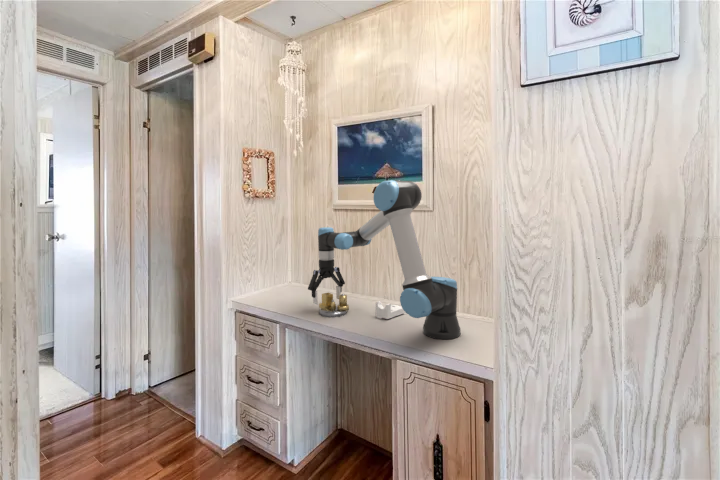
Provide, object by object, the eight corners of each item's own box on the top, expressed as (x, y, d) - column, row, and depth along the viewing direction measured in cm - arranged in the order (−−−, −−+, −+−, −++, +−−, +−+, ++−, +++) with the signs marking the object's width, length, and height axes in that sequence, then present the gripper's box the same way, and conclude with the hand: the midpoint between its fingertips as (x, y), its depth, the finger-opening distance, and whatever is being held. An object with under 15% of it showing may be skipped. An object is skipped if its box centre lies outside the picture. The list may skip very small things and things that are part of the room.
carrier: (352, 313, 180) (352, 294, 179) (329, 319, 171) (328, 299, 170) (337, 307, 190) (337, 289, 189) (314, 312, 182) (314, 294, 181)
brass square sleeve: (335, 307, 184) (335, 294, 183) (325, 310, 180) (325, 296, 179) (329, 305, 188) (329, 291, 188) (319, 307, 185) (318, 293, 184)
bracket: (387, 321, 169) (387, 305, 168) (375, 317, 174) (375, 301, 173) (405, 314, 178) (405, 299, 177) (393, 311, 183) (393, 296, 182)
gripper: (342, 255, 192) (343, 295, 194) (300, 260, 177) (301, 304, 179) (351, 257, 186) (351, 298, 188) (307, 262, 171) (309, 307, 173)
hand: (327, 301), depth 184 cm, fingers open, 13 cm apart
